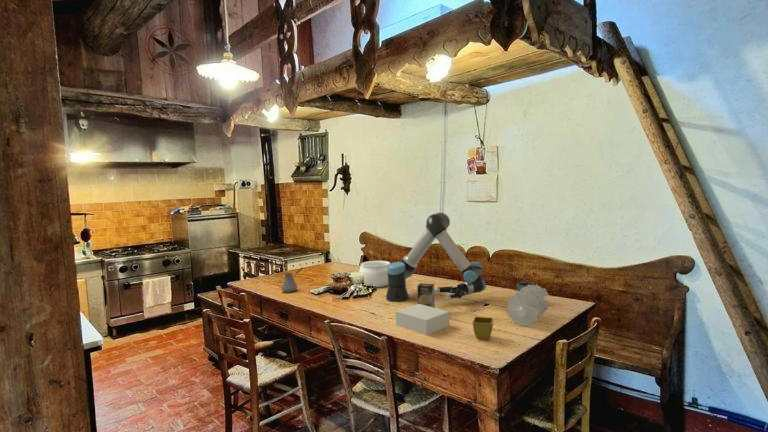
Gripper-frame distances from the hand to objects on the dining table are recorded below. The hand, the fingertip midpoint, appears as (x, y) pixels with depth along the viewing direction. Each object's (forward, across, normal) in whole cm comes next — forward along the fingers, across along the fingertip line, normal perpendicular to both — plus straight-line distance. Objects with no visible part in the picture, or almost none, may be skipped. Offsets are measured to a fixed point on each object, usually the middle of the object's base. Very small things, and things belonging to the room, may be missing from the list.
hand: (438, 294), depth 241 cm
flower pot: (+12, -49, -9) cm, 52 cm away
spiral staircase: (-24, -46, -9) cm, 52 cm away
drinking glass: (-49, -24, -9) cm, 55 cm away
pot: (-2, +78, -9) cm, 78 cm away
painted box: (+25, -17, -9) cm, 32 cm away
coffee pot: (+55, +103, -9) cm, 117 cm away
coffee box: (+9, 0, -9) cm, 13 cm away
